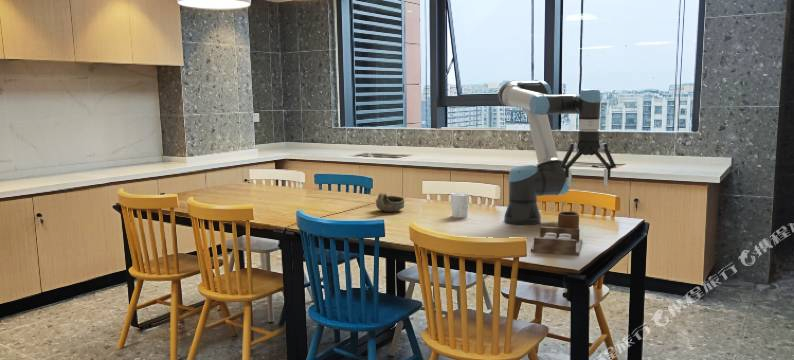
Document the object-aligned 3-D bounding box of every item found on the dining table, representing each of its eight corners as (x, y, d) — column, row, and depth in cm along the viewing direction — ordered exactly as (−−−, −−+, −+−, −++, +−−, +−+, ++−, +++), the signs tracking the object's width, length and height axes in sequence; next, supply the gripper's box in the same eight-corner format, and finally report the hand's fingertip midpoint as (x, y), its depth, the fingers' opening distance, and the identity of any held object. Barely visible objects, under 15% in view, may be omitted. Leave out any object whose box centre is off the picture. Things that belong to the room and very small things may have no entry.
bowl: (410, 209, 297) (410, 188, 296) (392, 216, 282) (392, 194, 280) (384, 207, 303) (384, 187, 302) (366, 214, 288) (365, 192, 287)
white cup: (448, 217, 278) (448, 195, 277) (453, 214, 286) (453, 192, 284) (465, 218, 275) (465, 196, 274) (470, 215, 283) (470, 193, 281)
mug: (563, 232, 247) (563, 208, 246) (583, 234, 243) (583, 210, 242) (555, 239, 237) (555, 214, 235) (575, 241, 233) (576, 216, 232)
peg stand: (530, 251, 219) (531, 237, 218) (537, 239, 237) (537, 226, 236) (578, 255, 214) (579, 240, 213) (582, 242, 231) (582, 228, 231)
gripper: (556, 131, 236) (555, 187, 240) (625, 131, 234) (623, 187, 237) (553, 130, 244) (552, 184, 247) (620, 129, 242) (618, 184, 245)
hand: (587, 186), depth 242 cm, fingers open, 13 cm apart
